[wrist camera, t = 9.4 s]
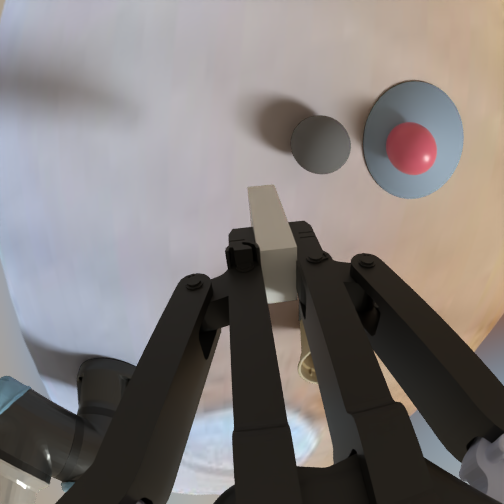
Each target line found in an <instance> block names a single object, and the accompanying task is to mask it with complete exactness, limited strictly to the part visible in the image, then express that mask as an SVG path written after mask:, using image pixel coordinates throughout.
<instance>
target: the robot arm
mask: <svg viewBox="0 0 504 504" xmlns="http://www.w3.org/2000/svg"><path fill="white" fill-rule="evenodd" d="M247 188H248V198H249V208H250V219H251V227H247V228H238V229H232V231H231V232H230V234H229V246H228V247H227V248H226V250H225V254H226V260H227V266H228V270H227V271H226V272H225V273H224V274H222V275H221V276H219V277H216V278H213V279H210V278H209V277H208V276H207V275H205V274H200V273H197V274H191V275H188V276H186V277H184V278H183V279H181V280H180V282H179V283H178V285H177V287H176V289H175V290H174V292H173V294H172V296H171V298H170V300H169V302H168V304H167V306H166V308H165V310H164V312H163V314H162V316H161V318H160V320H159V322H158V324H157V326H156V328H155V330H154V332H153V334H152V336H151V338H150V340H149V342H148V344H147V346H146V348H145V350H144V352H143V354H142V356H141V358H140V360H139V362H138V364H137V366H136V367H135V366H133V365H130V364H128V363H125V362H121V361H118V360H113V359H106V358H96V359H90V360H88V361H85V362H84V363H83V364H82V365H81V367H80V369H79V373H78V376H77V391H78V405H79V408H78V412H77V415H76V414H74V413H72V412H70V411H68V410H67V409H65V408H63V407H61V406H59V405H57V404H56V403H54V402H52V401H50V400H49V399H47V398H45V397H44V396H42V395H40V394H39V393H37V392H35V391H34V390H32V389H31V387H29V386H26V385H24V384H22V383H20V382H19V381H17V380H16V379H14V378H12V377H10V376H4V377H1V378H0V504H35V500H36V495H37V492H38V491H39V490H42V489H44V488H47V487H49V484H50V479H51V477H53V478H56V479H58V480H61V481H62V483H61V486H62V490H63V491H65V492H66V493H65V494H64V495H63V496H62V497H61V498H60V499H59V500H58V502H56V504H166V503H167V501H168V499H169V496H170V493H171V491H172V488H173V486H174V482H175V479H176V476H177V472H178V469H179V466H180V463H181V459H182V456H183V453H184V450H185V446H186V443H187V440H188V437H189V433H190V430H191V427H192V424H193V420H194V417H195V414H196V411H197V407H198V404H199V401H200V398H201V395H202V391H203V388H204V385H205V382H206V378H207V375H208V372H209V369H210V366H211V362H212V359H213V356H214V353H215V350H216V346H217V343H218V340H219V337H220V334H221V328H222V327H225V326H228V325H230V350H231V374H232V395H233V415H234V431H233V434H232V445H233V463H234V479H235V485H233V486H231V487H230V488H229V489H227V490H226V491H225V492H224V493H223V494H221V495H220V496H219V498H218V499H217V500H216V501H215V502H214V504H504V386H503V385H502V383H501V382H500V381H499V380H498V379H497V377H496V376H495V375H494V374H493V373H492V372H491V371H490V369H489V368H488V367H487V366H486V365H485V364H484V363H483V362H482V360H481V359H480V358H479V357H478V356H477V355H476V354H475V353H474V352H473V351H472V349H471V348H470V347H469V346H468V345H467V344H466V343H465V342H464V341H463V340H462V339H461V338H460V337H459V336H458V334H457V333H456V332H455V331H454V330H453V329H452V328H451V327H450V326H449V325H448V324H447V323H446V322H445V321H444V320H443V319H442V318H441V317H440V316H439V315H438V314H437V313H436V312H435V311H434V310H433V309H432V308H431V307H430V306H429V305H428V304H427V303H426V302H425V301H424V300H423V299H422V298H421V297H420V296H419V295H418V294H417V293H416V292H415V291H414V290H413V289H412V288H411V287H410V286H409V285H408V284H406V283H405V282H404V281H403V280H402V279H401V278H400V277H399V276H398V275H397V274H396V273H395V272H394V271H393V270H392V269H391V268H389V267H388V266H387V265H386V264H385V263H384V262H383V261H382V260H381V259H380V258H378V257H377V256H375V255H372V254H366V253H362V254H357V255H355V256H354V257H353V258H352V259H351V263H346V262H338V261H334V260H333V259H332V257H331V256H330V255H329V254H328V253H327V252H325V251H323V250H322V248H321V246H320V244H319V242H318V239H317V237H316V235H315V233H314V232H313V229H312V227H311V225H310V224H308V223H307V222H305V221H296V222H288V221H287V218H286V215H285V212H284V210H283V207H282V204H281V202H280V199H279V196H278V194H277V191H276V188H275V186H274V185H264V186H254V187H247ZM297 293H298V297H299V321H301V318H302V321H303V325H304V329H305V333H306V337H307V341H308V345H309V349H310V353H311V356H312V360H313V364H314V368H315V372H316V376H317V381H318V385H319V389H320V393H321V397H322V401H323V405H324V409H325V414H326V418H327V422H328V426H329V431H330V435H331V439H332V444H333V461H334V465H332V466H329V467H326V468H317V467H299V466H296V460H295V454H294V448H293V442H292V436H291V431H290V427H289V425H288V422H287V416H286V410H285V404H284V398H283V391H282V385H281V379H280V373H279V367H278V361H277V355H276V349H275V343H274V337H273V332H272V326H271V320H270V314H269V308H268V304H269V303H278V302H286V301H294V300H297ZM373 350H374V351H375V353H376V354H377V355H378V357H379V358H380V359H381V361H382V362H383V363H384V365H385V366H386V367H387V369H388V370H389V371H390V373H391V374H392V375H393V377H394V378H395V379H396V381H397V382H398V383H399V385H400V386H401V387H402V389H403V390H404V392H405V393H406V394H407V396H408V397H409V398H410V400H411V401H412V402H413V404H414V405H415V407H416V408H417V409H418V411H419V412H420V413H421V415H422V416H423V418H424V419H425V420H426V422H427V423H428V425H429V426H430V427H431V429H432V430H433V432H434V433H435V434H436V436H437V437H438V439H439V440H440V441H441V443H442V444H443V445H444V446H445V448H446V449H447V450H448V451H449V452H450V453H451V454H452V455H453V456H454V457H455V458H456V459H457V460H458V461H460V462H461V463H462V465H461V469H460V472H459V476H460V478H461V480H460V479H458V478H457V477H455V476H453V475H452V474H450V473H448V472H447V471H445V470H443V469H442V468H440V467H439V466H437V465H435V464H434V463H432V462H430V461H429V460H427V459H426V458H424V457H423V454H422V451H421V448H420V445H419V442H418V439H417V437H416V434H415V431H414V429H413V426H412V423H411V420H410V418H409V415H408V412H407V410H406V408H405V407H404V405H403V404H402V403H401V402H395V401H394V400H393V398H392V396H391V394H390V391H389V389H388V386H387V383H386V381H385V378H384V376H383V373H382V371H381V368H380V366H379V363H378V361H377V358H376V356H375V354H374V351H373ZM462 480H463V481H467V482H468V483H469V484H470V485H468V484H467V483H465V482H463V481H462Z"/></svg>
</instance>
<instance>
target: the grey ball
mask: <svg viewBox="0 0 504 504" xmlns="http://www.w3.org/2000/svg"><path fill="white" fill-rule="evenodd" d="M291 149H292V153H293V156H294V158H295V159H296V161H297V162H298V163H299V165H300V166H301V167H303V168H304V169H306V170H307V171H309V172H312V173H315V174H328V173H332V172H334V171H336V170H338V169H339V168H341V167H342V166H343V165H344V164H345V162H346V161H347V159H348V157H349V154H350V149H351V143H350V138H349V135H348V133H347V131H346V129H345V128H344V127H343V126H342V125H341V124H340V123H339V122H338V121H337V120H335V119H333V118H331V117H327V116H312V117H309V118H307V119H305V120H303V121H302V122H301V123H300V124H299V125H298V126H297V127H296V128H295V130H294V132H293V135H292V138H291Z"/></svg>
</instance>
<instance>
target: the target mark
mask: <svg viewBox="0 0 504 504" xmlns="http://www.w3.org/2000/svg"><path fill="white" fill-rule="evenodd" d="M405 122H414V123H418V124H420V125H422V126H424V127H425V128H426V129H428V130H429V131H430V133H431V134H432V135H433V137H434V139H435V142H436V145H437V156H436V160H435V162H434V164H433V166H432V167H431V168H430V169H429V170H428V171H426V172H425V173H422V174H419V175H408V174H405V173H402V172H401V171H399V170H398V169H396V168H395V167H394V166H393V165H392V163H391V162H390V160H389V158H388V156H387V152H386V141H387V137H388V135H389V133H390V132H391V130H392V129H393V128H394V127H396V126H397V125H399V124H401V123H405ZM462 148H463V126H462V121H461V118H460V115H459V112H458V110H457V108H456V106H455V104H454V103H453V102H452V100H451V99H450V98H449V97H448V96H447V94H446V93H444V92H443V91H442V90H441V89H439V88H437V87H436V86H434V85H431V84H429V83H424V82H418V81H412V82H405V83H401V84H399V85H397V86H394V87H393V88H391V89H390V90H388V91H387V92H386V93H384V94H383V95H382V96H381V97H380V98H379V100H378V101H377V102H376V103H375V105H374V107H373V108H372V110H371V112H370V114H369V116H368V119H367V122H366V125H365V130H364V138H363V150H364V156H365V160H366V164H367V167H368V169H369V171H370V173H371V175H372V177H373V178H374V180H375V181H376V182H377V183H378V184H379V185H380V186H381V187H382V188H383V189H384V190H385V191H387V192H388V193H390V194H392V195H394V196H397V197H400V198H406V199H414V198H420V197H424V196H427V195H429V194H431V193H433V192H435V191H436V190H438V189H439V188H440V187H442V186H443V185H444V184H445V183H446V182H447V181H448V179H449V178H450V177H451V175H452V174H453V172H454V171H455V169H456V167H457V165H458V162H459V160H460V157H461V153H462Z"/></svg>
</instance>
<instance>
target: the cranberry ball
mask: <svg viewBox="0 0 504 504" xmlns="http://www.w3.org/2000/svg"><path fill="white" fill-rule="evenodd" d="M386 152H387V156H388V158H389V160H390V162H391V163H392V165H393V166H394V167H395V168H396V169H398V170H399V171H401V172H402V173H405V174H408V175H419V174H422V173H425V172H426V171H428V170H429V169H430V168H431V167H432V166H433V164H434V162H435V160H436V156H437V145H436V142H435V139H434V137H433V135H432V134H431V133H430V131H429V130H428V129H426V128H425V127H424V126H422V125H420V124H418V123H414V122H405V123H401V124H399V125H397V126H396V127H394V128H393V129H392V130H391V132H390V133H389V135H388V137H387V141H386Z"/></svg>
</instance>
